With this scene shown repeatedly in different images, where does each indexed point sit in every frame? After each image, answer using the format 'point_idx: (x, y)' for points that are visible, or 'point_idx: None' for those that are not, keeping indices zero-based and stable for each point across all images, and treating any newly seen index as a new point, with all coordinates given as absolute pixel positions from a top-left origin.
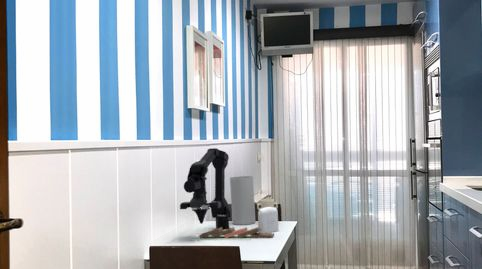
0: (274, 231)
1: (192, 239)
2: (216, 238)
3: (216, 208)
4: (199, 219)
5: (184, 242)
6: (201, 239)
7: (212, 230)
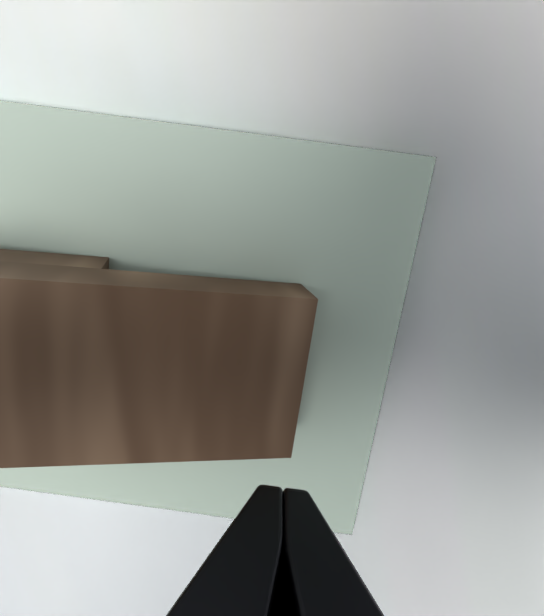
0: None
1: (418, 223)
2: (41, 242)
3: None
4: (336, 583)
5: (536, 89)
6: (266, 199)
7: (83, 398)
